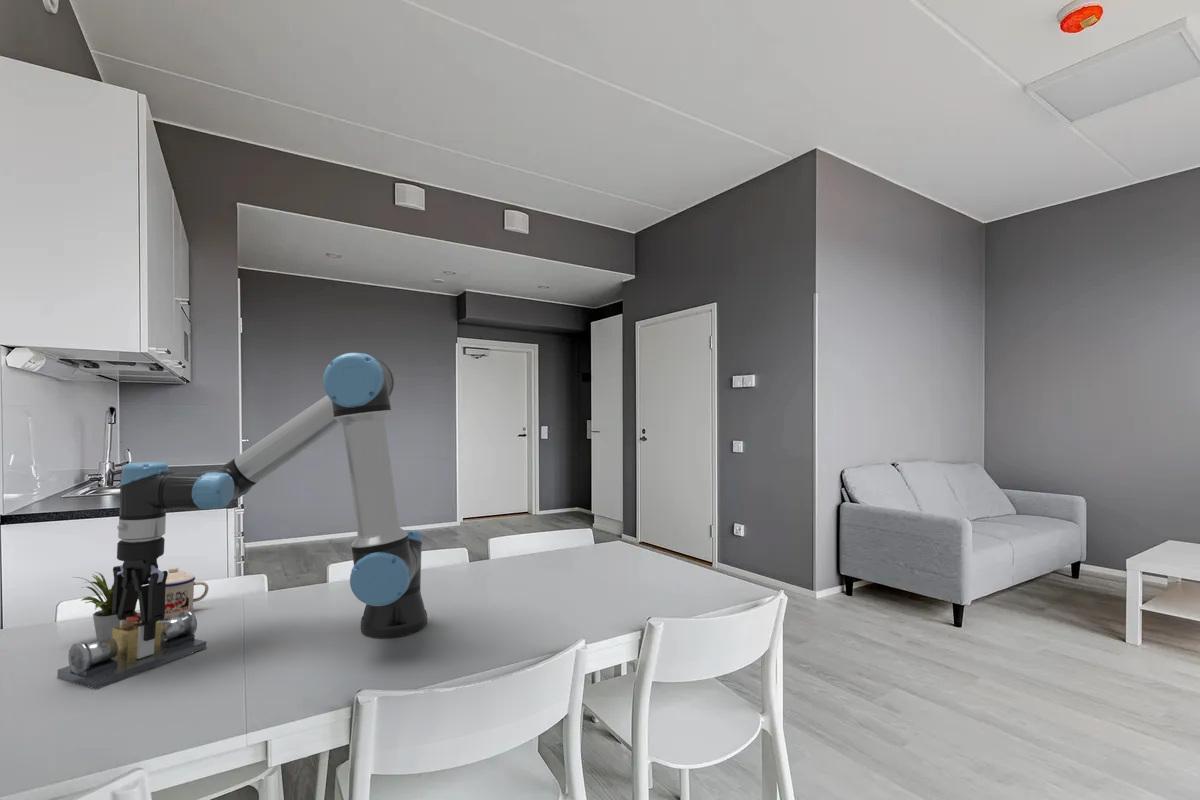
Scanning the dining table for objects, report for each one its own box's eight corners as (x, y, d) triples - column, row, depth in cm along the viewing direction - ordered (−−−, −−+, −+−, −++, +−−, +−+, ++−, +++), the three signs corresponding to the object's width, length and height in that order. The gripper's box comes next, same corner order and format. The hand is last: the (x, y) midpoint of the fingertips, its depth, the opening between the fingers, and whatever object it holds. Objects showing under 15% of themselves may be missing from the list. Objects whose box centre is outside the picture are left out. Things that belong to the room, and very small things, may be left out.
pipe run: (169, 639, 126) (171, 606, 126) (206, 648, 122) (207, 614, 122) (57, 677, 107) (59, 638, 108) (95, 689, 103) (97, 648, 103)
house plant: (51, 659, 115) (55, 579, 116) (70, 637, 127) (73, 563, 127) (141, 645, 123) (144, 570, 123) (150, 625, 134) (153, 556, 135)
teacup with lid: (148, 623, 136) (150, 574, 136) (148, 613, 143) (150, 566, 143) (209, 613, 143) (210, 567, 144) (206, 604, 150) (207, 560, 151)
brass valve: (144, 647, 118) (146, 609, 118) (160, 651, 116) (161, 612, 117) (111, 658, 113) (113, 618, 113) (127, 662, 111) (128, 621, 111)
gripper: (92, 537, 115) (86, 652, 114) (150, 546, 109) (144, 668, 108) (134, 531, 122) (128, 639, 121) (190, 538, 116) (185, 653, 115)
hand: (136, 653), depth 115 cm, fingers open, 5 cm apart
